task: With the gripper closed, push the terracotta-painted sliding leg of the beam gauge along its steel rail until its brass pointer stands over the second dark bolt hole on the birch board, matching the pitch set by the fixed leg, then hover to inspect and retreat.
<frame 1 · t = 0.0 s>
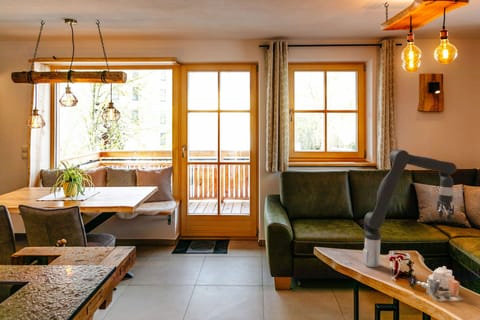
hand: (444, 219, 230), 29 cm above the table, fingers open, 8 cm apart
mechanical part: (439, 288, 198), on the table
carriage: (454, 288, 187), point 5 cm above the table, slide at 0.0 cm
valve: (422, 290, 196), on the table
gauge: (446, 298, 187), on the table
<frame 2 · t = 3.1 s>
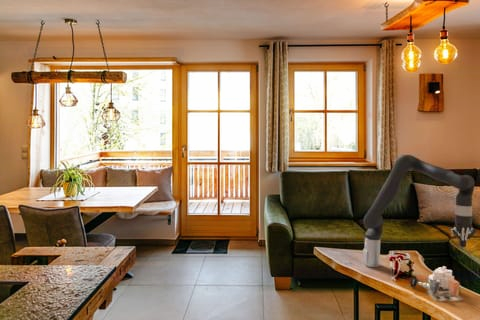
hand: (462, 246, 190), 25 cm above the table, fingers closed
nothing on the table moved.
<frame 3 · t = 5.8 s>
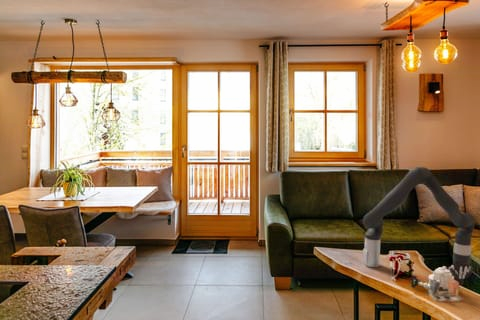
hand: (459, 285, 188), 6 cm above the table, fingers closed
carriage: (454, 288, 187), point 5 cm above the table, slide at 0.3 cm, touching gripper
everything else where it was.
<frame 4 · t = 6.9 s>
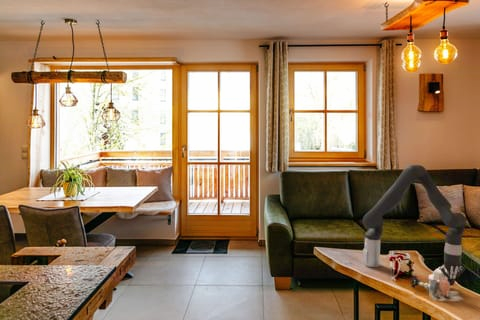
hand: (450, 284, 188), 6 cm above the table, fingers closed
carriage: (445, 288, 187), point 5 cm above the table, slide at 5.0 cm, touching gripper
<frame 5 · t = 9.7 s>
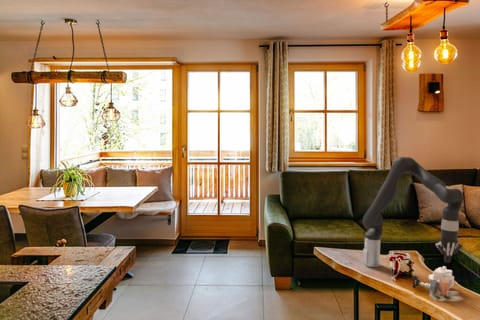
hand: (447, 262, 185), 19 cm above the table, fingers closed
carriage: (444, 288, 187), point 5 cm above the table, slide at 5.0 cm
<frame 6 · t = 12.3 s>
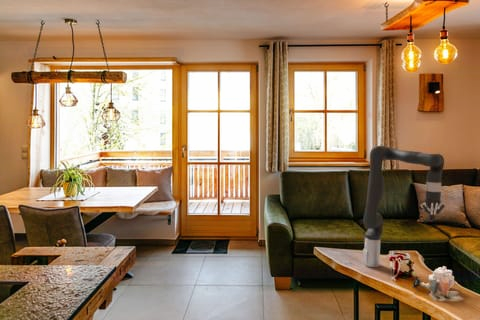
hand: (431, 221, 203), 35 cm above the table, fingers closed
at the end: carriage slide at 5.0 cm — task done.
